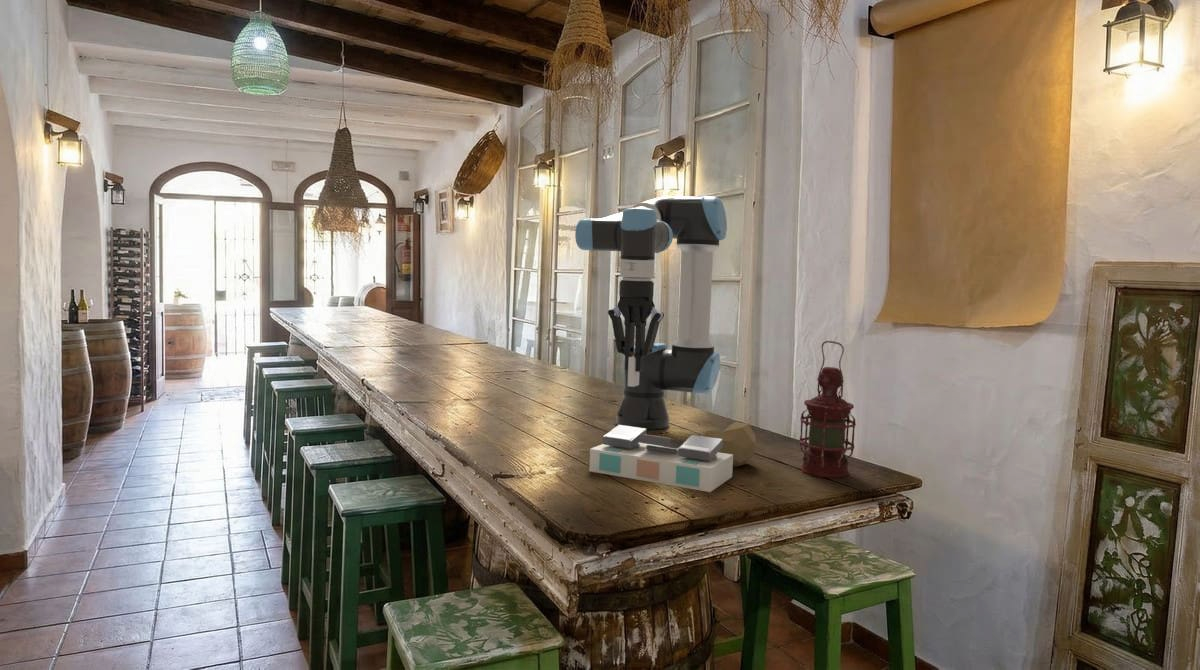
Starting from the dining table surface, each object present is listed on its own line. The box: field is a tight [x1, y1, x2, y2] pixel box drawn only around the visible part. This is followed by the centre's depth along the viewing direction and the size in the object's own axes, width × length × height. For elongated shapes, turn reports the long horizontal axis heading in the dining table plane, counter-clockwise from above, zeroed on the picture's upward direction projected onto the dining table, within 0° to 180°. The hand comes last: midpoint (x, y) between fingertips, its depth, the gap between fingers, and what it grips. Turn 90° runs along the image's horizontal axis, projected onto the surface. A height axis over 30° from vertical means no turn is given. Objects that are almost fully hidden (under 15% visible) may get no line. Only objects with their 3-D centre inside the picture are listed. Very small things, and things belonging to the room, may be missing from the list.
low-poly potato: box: [702, 421, 757, 468], centre depth 186 cm, size 15×11×12 cm
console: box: [588, 442, 734, 493], centre depth 175 cm, size 14×28×6 cm, turn 62°
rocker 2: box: [678, 434, 723, 461], centre depth 171 cm, size 8×7×2 cm
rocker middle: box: [640, 434, 685, 448], centre depth 175 cm, size 8×7×2 cm
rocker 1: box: [602, 424, 648, 449], centre depth 179 cm, size 8×7×2 cm
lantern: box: [798, 340, 857, 479], centre depth 181 cm, size 12×12×30 cm
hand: (633, 385), depth 178 cm, fingers closed
